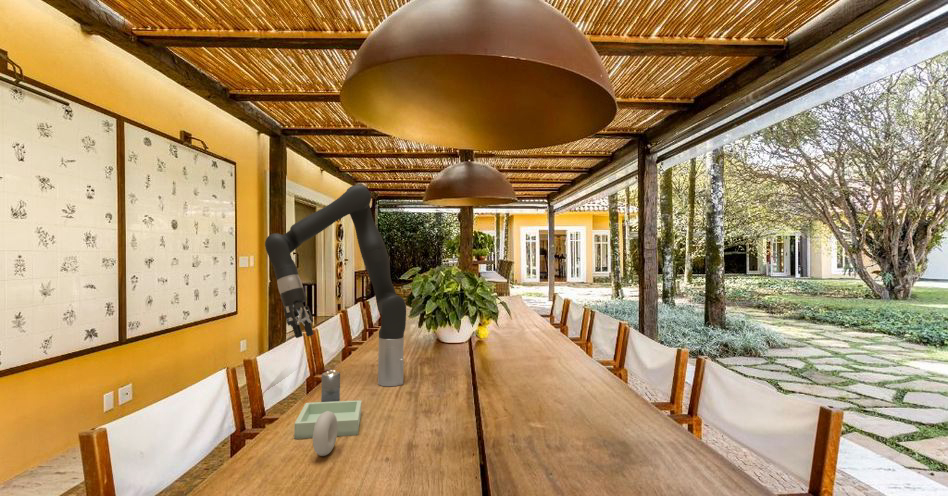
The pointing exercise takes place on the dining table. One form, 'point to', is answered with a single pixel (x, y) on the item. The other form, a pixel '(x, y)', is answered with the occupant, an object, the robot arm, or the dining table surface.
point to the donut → (325, 433)
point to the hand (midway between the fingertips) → (305, 336)
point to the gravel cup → (330, 386)
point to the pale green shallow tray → (343, 410)
